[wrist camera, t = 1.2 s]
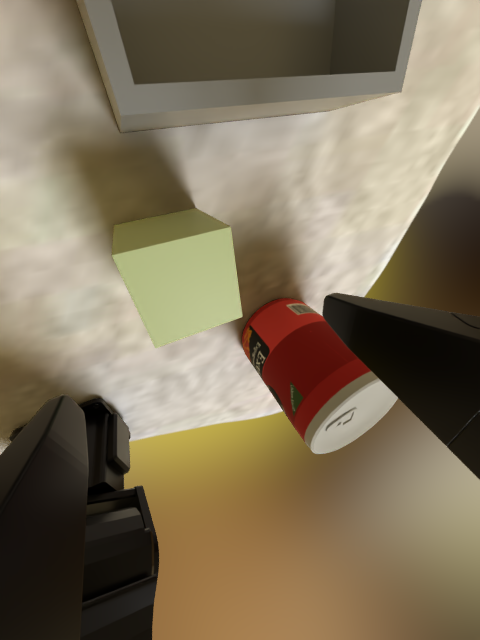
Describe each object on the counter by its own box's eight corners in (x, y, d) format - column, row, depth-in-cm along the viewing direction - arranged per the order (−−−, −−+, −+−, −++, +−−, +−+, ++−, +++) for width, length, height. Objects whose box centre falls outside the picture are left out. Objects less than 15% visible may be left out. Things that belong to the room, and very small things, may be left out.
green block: (145, 297, 16) (155, 348, 12) (113, 224, 13) (111, 255, 9) (210, 277, 18) (242, 317, 13) (195, 208, 15) (230, 227, 10)
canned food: (226, 326, 21) (299, 433, 12) (297, 279, 21) (413, 351, 13) (254, 369, 26) (320, 466, 17) (311, 330, 26) (401, 406, 18)
